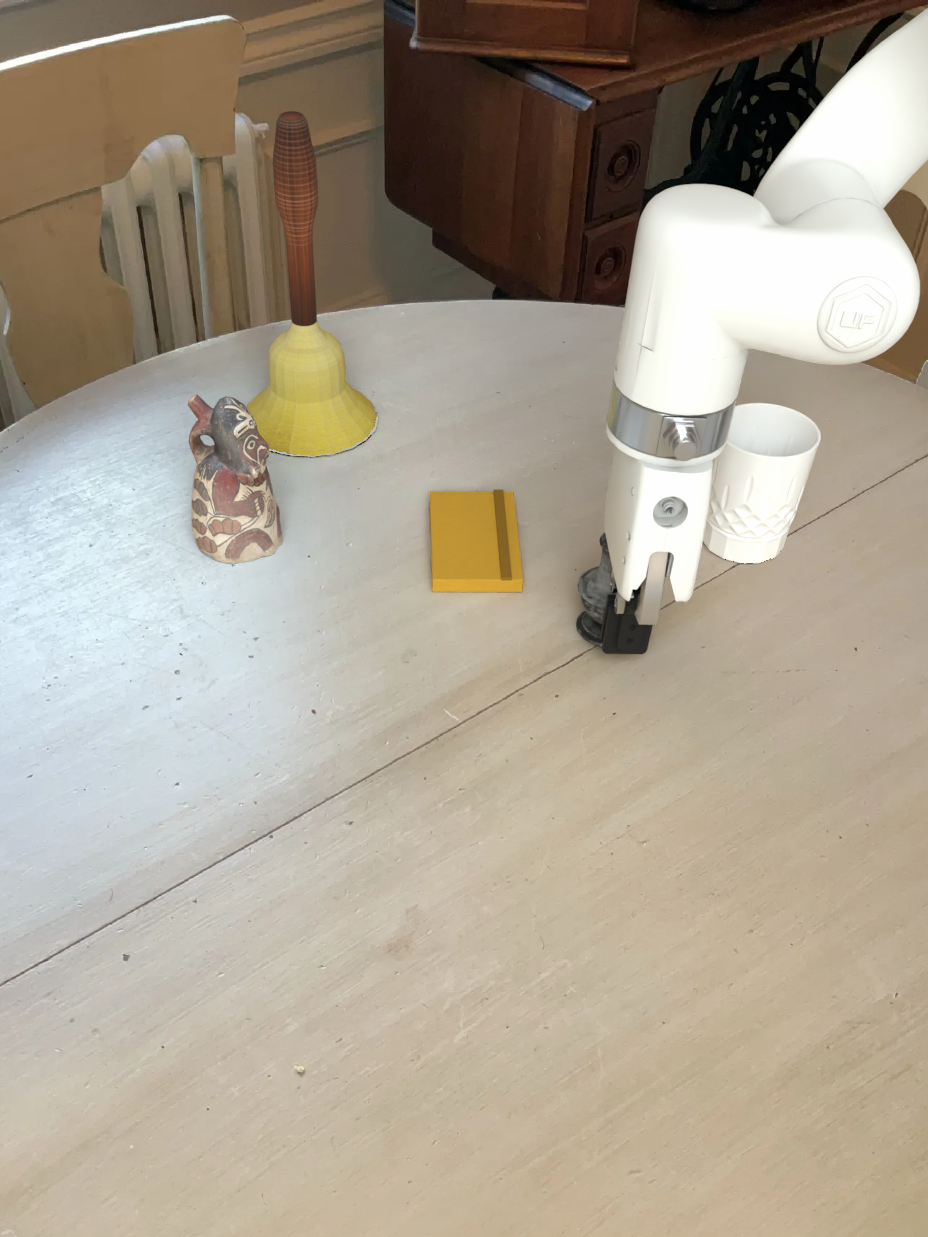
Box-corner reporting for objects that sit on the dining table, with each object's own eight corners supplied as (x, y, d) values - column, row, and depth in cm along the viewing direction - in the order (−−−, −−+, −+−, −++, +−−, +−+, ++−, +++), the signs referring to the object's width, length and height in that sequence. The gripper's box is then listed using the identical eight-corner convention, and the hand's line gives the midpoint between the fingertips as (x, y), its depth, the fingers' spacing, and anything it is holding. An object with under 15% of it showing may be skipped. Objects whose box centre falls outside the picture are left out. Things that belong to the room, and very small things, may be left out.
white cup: (721, 501, 107) (745, 391, 99) (806, 535, 104) (837, 424, 96) (676, 545, 102) (698, 434, 95) (764, 581, 100) (793, 469, 92)
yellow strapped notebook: (429, 503, 106) (429, 488, 104) (512, 504, 106) (513, 489, 105) (432, 592, 98) (432, 577, 97) (522, 592, 98) (523, 577, 97)
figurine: (260, 572, 99) (246, 433, 90) (178, 552, 100) (156, 413, 91) (296, 522, 103) (286, 385, 94) (217, 504, 105) (200, 367, 96)
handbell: (393, 395, 117) (391, 96, 98) (357, 466, 109) (347, 155, 90) (266, 377, 118) (240, 78, 99) (222, 445, 110) (184, 136, 92)
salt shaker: (564, 607, 97) (582, 464, 88) (638, 601, 98) (663, 459, 89) (582, 653, 93) (603, 508, 84) (659, 647, 94) (687, 503, 85)
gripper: (754, 482, 72) (691, 718, 86) (708, 353, 82) (658, 584, 96) (625, 479, 72) (582, 717, 86) (594, 350, 82) (560, 582, 95)
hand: (622, 646), depth 91 cm, fingers closed
